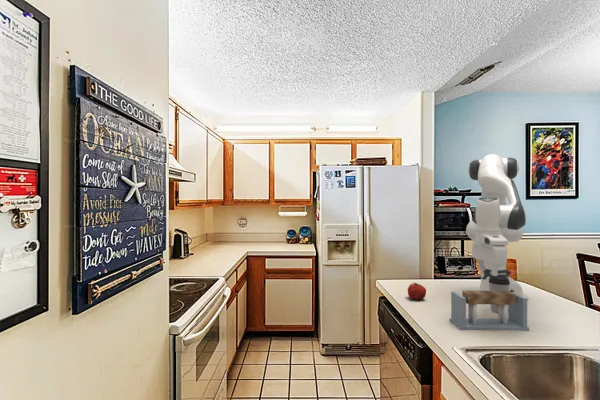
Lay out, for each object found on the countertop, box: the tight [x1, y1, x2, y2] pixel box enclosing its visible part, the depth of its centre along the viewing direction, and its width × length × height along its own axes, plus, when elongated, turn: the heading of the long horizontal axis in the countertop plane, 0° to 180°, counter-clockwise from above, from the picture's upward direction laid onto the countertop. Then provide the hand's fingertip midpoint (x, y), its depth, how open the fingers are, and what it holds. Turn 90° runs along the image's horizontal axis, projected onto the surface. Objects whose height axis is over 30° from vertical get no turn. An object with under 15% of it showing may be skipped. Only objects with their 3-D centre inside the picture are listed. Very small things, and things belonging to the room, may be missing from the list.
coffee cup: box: [489, 276, 510, 314], centre depth 156 cm, size 8×8×15 cm
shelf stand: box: [448, 290, 530, 332], centre depth 138 cm, size 26×10×12 cm, turn 88°
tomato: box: [407, 282, 427, 301], centre depth 175 cm, size 9×9×8 cm
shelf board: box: [461, 290, 515, 305], centre depth 138 cm, size 18×5×4 cm, turn 88°
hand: (487, 272), depth 138 cm, fingers open, 8 cm apart
